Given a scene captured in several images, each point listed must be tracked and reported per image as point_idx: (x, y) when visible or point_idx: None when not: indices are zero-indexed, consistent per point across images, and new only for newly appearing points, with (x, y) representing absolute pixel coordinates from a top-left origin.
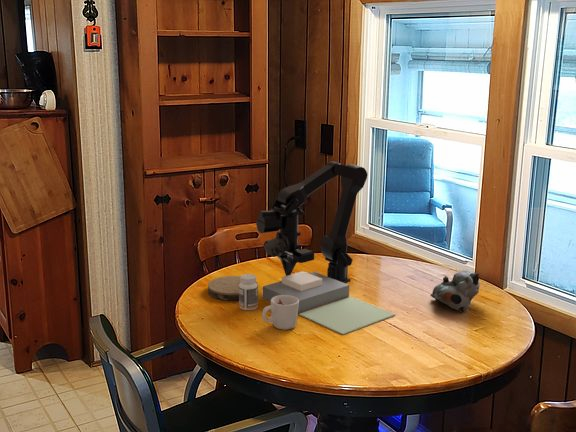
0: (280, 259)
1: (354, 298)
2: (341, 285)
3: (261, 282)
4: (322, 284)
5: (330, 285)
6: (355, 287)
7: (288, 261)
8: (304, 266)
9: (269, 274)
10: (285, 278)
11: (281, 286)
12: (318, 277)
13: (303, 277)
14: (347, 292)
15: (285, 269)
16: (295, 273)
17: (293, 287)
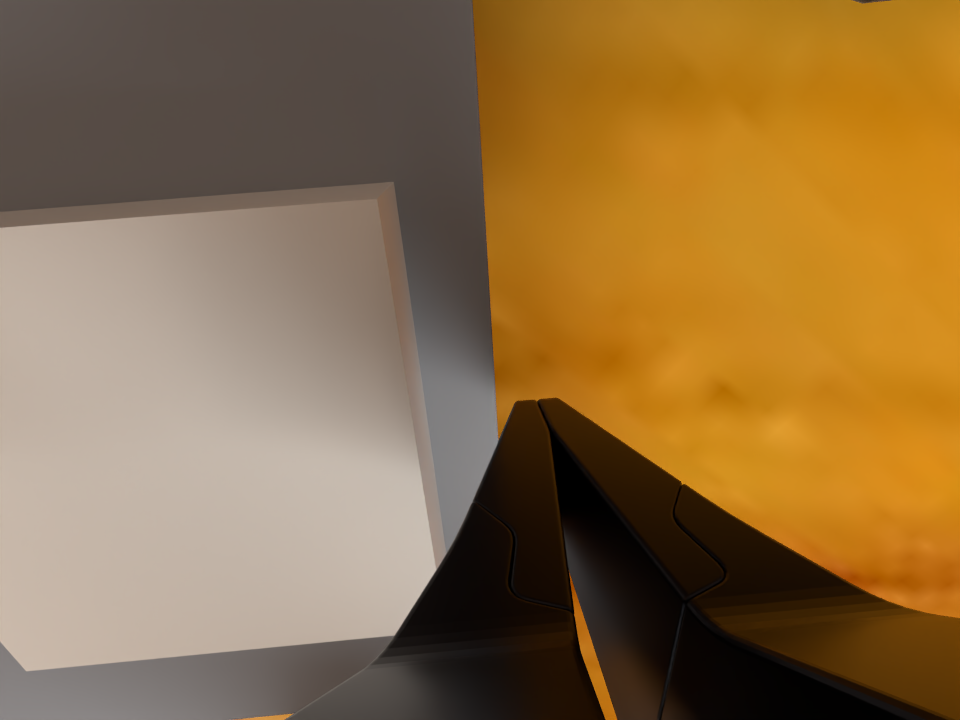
0: (882, 607)
1: None
2: (8, 698)
3: (892, 218)
4: None
5: None
6: (268, 716)
7: (314, 711)
8: None
9: (947, 419)
10: (246, 211)
11: (221, 46)
12: (98, 658)
13: (171, 517)
14: None
15: (571, 453)
16: (420, 516)
17: (54, 210)
